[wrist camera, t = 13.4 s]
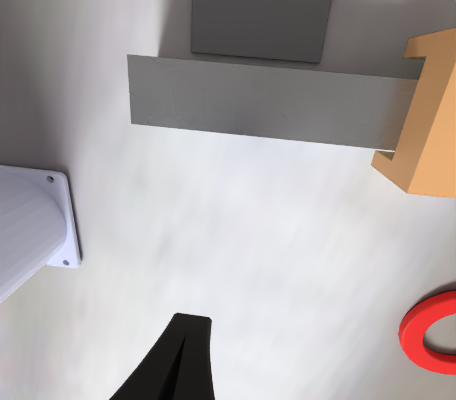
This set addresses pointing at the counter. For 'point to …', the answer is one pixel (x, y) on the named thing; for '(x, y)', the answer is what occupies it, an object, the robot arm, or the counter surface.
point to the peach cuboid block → (427, 123)
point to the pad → (260, 28)
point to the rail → (269, 101)
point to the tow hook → (417, 326)
